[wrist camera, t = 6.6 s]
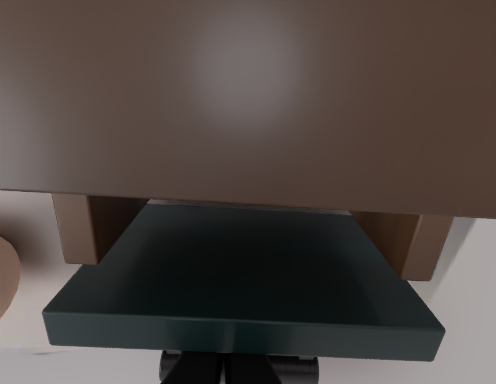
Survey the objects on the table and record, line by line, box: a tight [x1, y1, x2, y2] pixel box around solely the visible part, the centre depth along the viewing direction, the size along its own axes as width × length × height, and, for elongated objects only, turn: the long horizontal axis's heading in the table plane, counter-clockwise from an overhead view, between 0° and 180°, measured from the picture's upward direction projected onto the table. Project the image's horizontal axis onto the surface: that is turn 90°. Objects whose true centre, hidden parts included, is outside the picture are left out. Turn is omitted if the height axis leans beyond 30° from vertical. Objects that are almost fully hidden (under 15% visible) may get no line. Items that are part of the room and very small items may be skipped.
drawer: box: [42, 193, 454, 384], centre depth 9 cm, size 17×10×7 cm, turn 176°
